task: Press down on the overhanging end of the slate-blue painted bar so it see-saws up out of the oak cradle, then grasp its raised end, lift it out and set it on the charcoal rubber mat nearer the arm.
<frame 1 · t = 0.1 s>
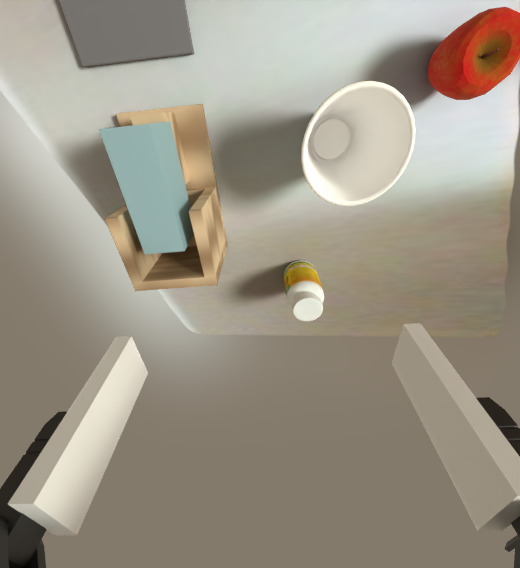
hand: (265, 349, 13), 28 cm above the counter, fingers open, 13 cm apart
bar: (165, 183, 31), point 5 cm above the counter, touching cradle
cradle: (180, 188, 36), on the counter
apple: (444, 65, 29), on the counter
supplement bottle: (299, 272, 43), on the counter
cup: (330, 139, 33), on the counter
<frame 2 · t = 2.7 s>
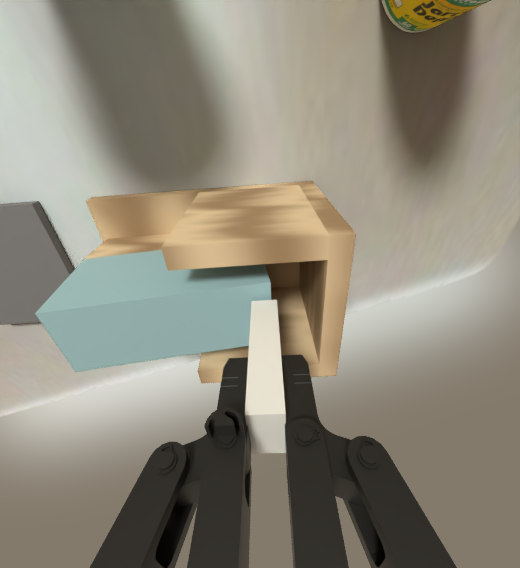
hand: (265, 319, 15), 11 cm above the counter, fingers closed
bar: (179, 275, 20), point 5 cm above the counter, tilted 7°, touching cradle, gripper
cradle: (211, 245, 24), on the counter
mat: (20, 268, 25), on the counter
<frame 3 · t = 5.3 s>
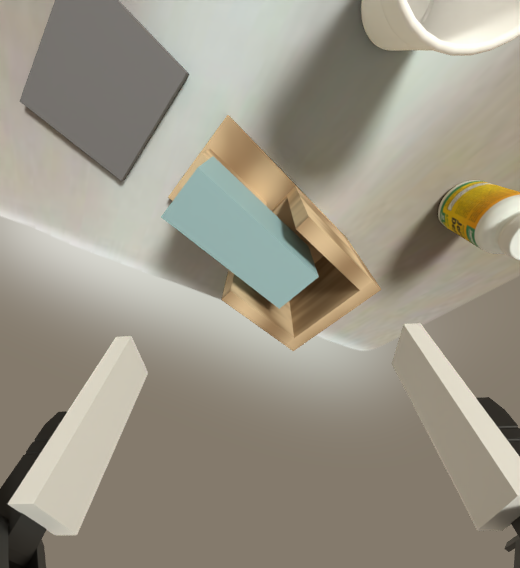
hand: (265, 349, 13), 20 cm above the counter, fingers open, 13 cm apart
bar: (248, 222, 25), point 5 cm above the counter, touching cradle
cradle: (262, 217, 30), on the counter
supplement bottle: (460, 204, 29), on the counter
cup: (398, 0, 21), on the counter
mat: (105, 88, 24), on the counter
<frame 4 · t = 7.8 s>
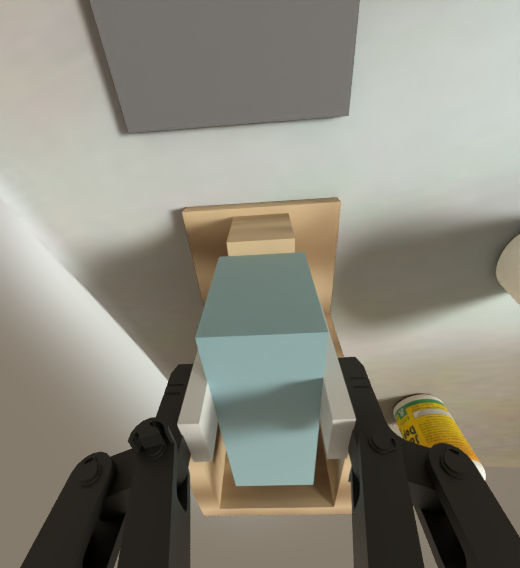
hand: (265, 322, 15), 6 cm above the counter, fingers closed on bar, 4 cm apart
bar: (267, 337, 17), point 5 cm above the counter, touching cradle, gripper
cradle: (267, 309, 22), on the counter
supplement bottle: (415, 405, 30), on the counter
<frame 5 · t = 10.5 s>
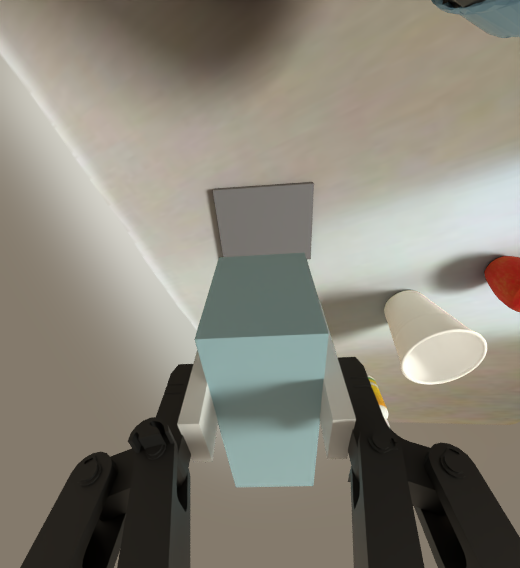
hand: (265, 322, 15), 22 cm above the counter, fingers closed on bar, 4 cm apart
bar: (267, 337, 17), point 21 cm above the counter, touching gripper
apple: (497, 266, 38), on the counter
supplement bottle: (360, 381, 52), on the counter
cup: (402, 304, 42), on the counter
mat: (265, 225, 35), on the counter
when the fingers open (7 cm above the counter, at t = 13.4 s): bar drops 5 cm, resting on mat.
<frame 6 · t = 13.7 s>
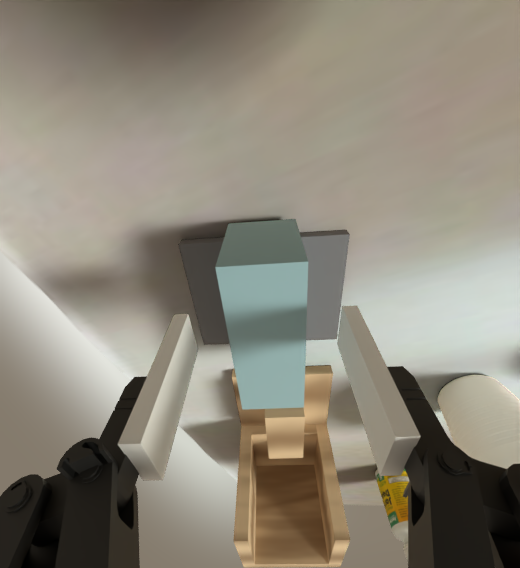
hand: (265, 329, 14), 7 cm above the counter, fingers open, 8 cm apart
bar: (267, 293, 21), point 1 cm above the counter, touching mat
cradle: (283, 416, 32), on the counter
supplement bottle: (391, 468, 40), on the counter
cup: (464, 388, 29), on the counter
mat: (266, 291, 22), on the counter
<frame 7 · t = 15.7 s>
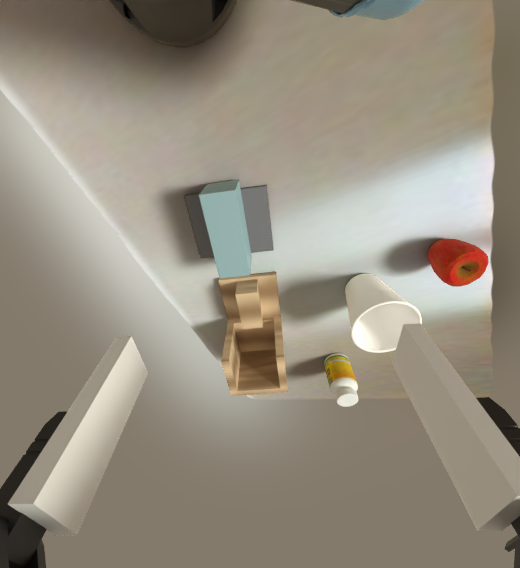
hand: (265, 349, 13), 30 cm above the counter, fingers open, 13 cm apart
bar: (231, 222, 40), point 1 cm above the counter, touching mat
cradle: (254, 314, 51), on the counter
apple: (439, 248, 43), on the counter
supplement bottle: (335, 360, 58), on the counter
cup: (361, 286, 47), on the counter
mat: (231, 223, 41), on the counter
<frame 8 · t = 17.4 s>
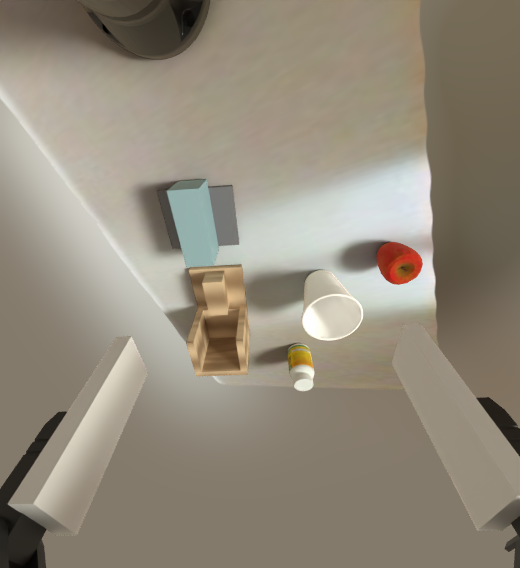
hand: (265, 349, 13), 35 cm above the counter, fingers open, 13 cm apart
bar: (200, 217, 44), point 1 cm above the counter, touching mat
cradle: (222, 303, 55), on the counter
apple: (387, 251, 49), on the counter
supplement bottle: (298, 349, 63), on the counter
cup: (319, 281, 52), on the counter
mat: (201, 217, 45), on the counter
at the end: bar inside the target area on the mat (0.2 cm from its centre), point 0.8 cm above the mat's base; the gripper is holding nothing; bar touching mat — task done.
